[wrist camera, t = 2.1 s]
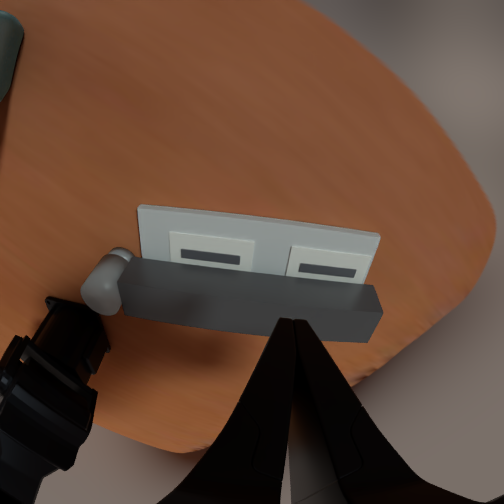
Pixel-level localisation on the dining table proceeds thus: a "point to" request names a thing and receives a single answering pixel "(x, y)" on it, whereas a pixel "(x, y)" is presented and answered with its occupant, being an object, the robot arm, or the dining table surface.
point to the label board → (254, 244)
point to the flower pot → (8, 49)
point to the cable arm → (230, 298)
